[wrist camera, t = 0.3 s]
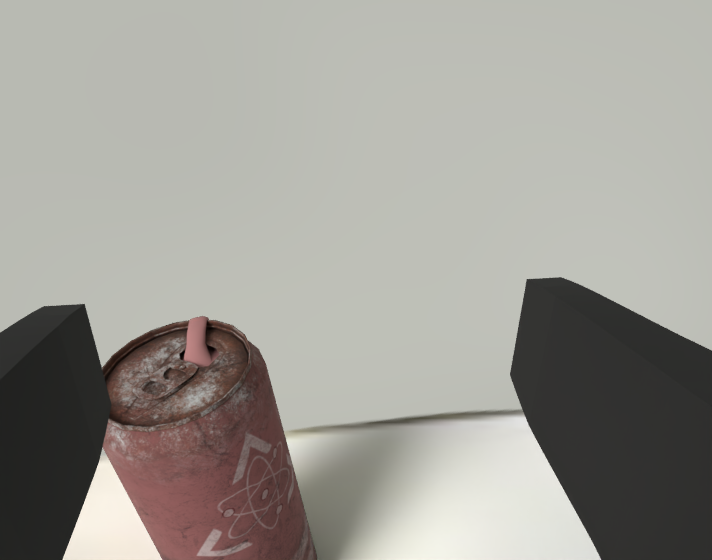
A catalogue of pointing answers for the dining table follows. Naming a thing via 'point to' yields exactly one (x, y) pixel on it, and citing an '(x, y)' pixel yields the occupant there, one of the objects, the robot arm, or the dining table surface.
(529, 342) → the robot arm
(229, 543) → the can
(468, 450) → the dining table surface
